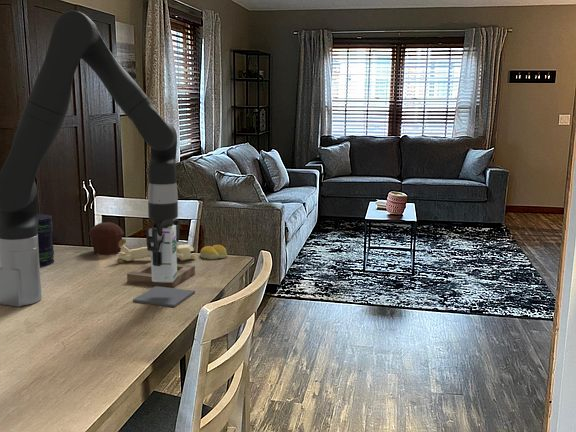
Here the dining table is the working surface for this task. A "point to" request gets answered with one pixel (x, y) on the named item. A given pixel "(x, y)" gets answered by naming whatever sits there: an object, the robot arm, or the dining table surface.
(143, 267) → the walnut socket
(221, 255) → the bread roll
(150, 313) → the dining table surface
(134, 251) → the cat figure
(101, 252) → the muffin
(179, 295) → the charcoal mat
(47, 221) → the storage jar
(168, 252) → the syrup box
